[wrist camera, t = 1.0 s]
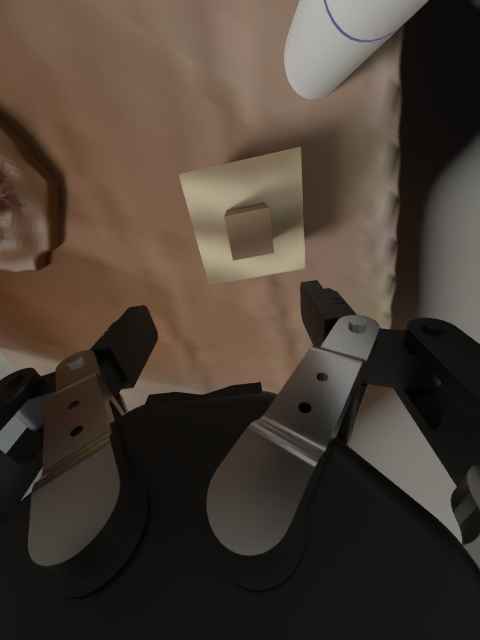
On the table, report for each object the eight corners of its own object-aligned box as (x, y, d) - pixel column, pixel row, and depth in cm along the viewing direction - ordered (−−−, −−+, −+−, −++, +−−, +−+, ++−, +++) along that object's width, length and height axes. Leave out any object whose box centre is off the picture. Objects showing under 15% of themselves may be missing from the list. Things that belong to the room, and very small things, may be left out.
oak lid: (180, 174, 23) (164, 172, 18) (298, 147, 22) (316, 138, 17) (209, 282, 30) (203, 303, 25) (303, 265, 28) (317, 284, 23)
